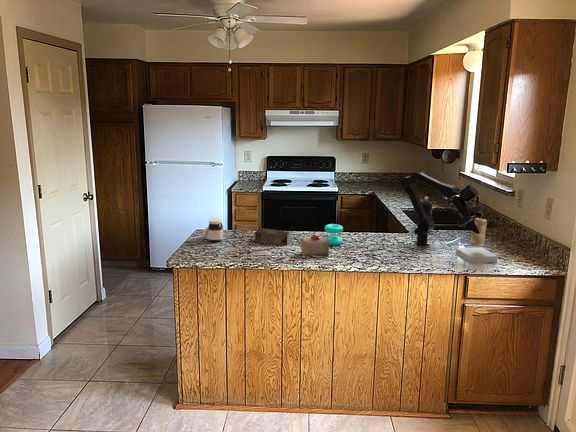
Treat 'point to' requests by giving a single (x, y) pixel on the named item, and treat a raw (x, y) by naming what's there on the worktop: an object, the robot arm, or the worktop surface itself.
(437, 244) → the worktop surface
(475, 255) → the light grey slab
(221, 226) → the spread jar
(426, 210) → the aerosol can
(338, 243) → the donuts
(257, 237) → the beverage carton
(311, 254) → the food item
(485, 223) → the birch block
